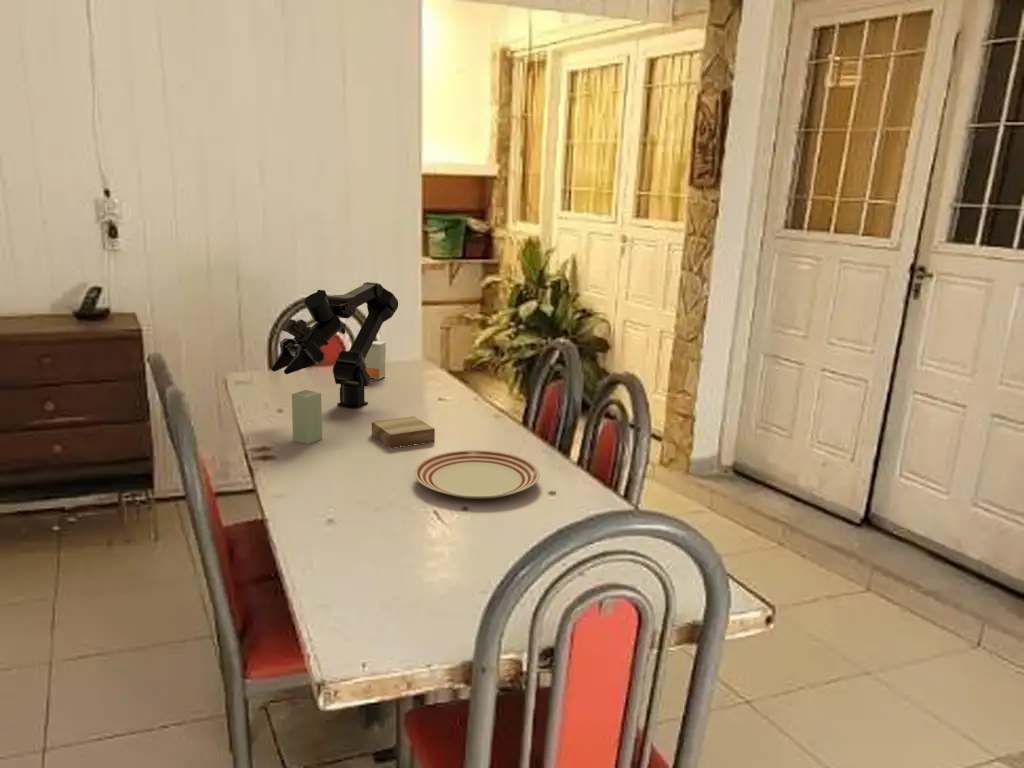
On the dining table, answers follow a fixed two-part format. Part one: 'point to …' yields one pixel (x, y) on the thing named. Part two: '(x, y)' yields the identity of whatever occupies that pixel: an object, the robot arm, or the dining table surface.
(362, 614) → the dining table surface
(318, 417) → the sage block
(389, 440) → the walnut block
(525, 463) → the dinner plate
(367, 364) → the skincare box
